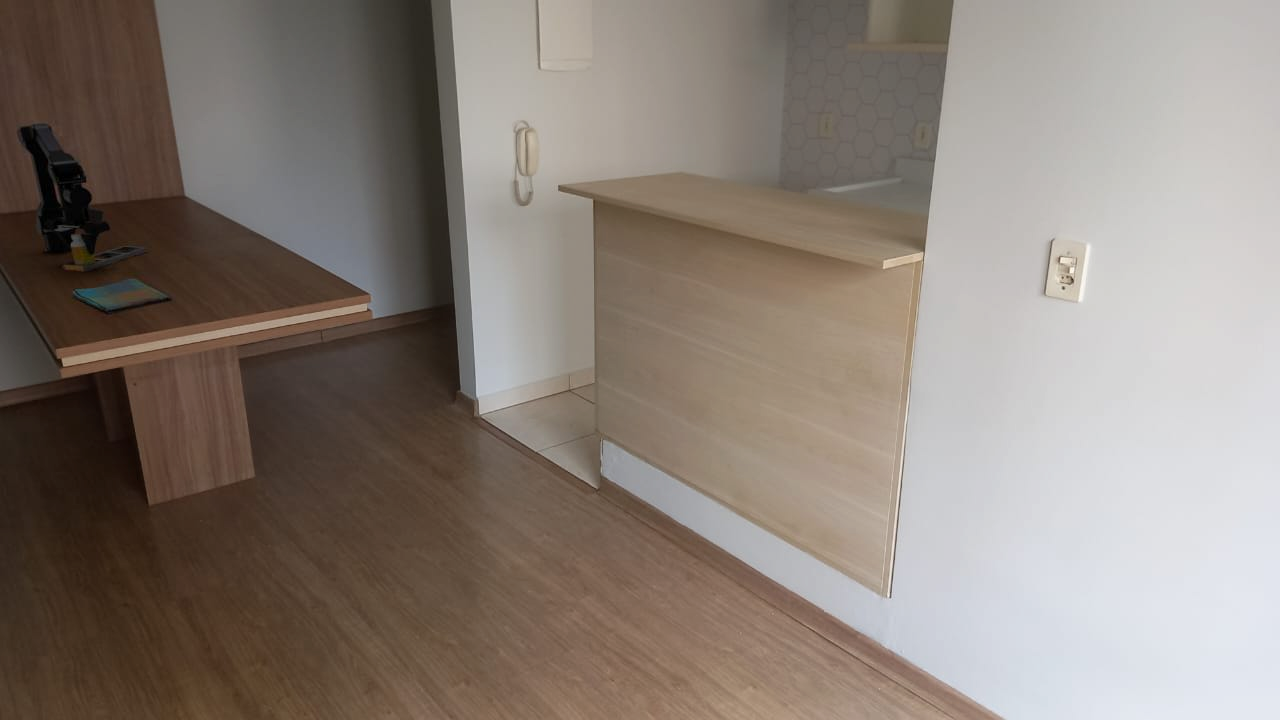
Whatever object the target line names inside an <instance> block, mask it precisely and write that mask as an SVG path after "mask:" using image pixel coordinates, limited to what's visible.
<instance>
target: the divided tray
mask: <svg viewBox="0 0 1280 720" xmlns="http://www.w3.org/2000/svg"><path fill="white" fill-rule="evenodd" d="M124 250H131V251H132V252H130V251H127V252H122V253H118V252H121V251H124ZM144 252H147V253H148V252H149V251H148V248H147V247H143V246H131V245H124V246H119V247H116V248H114V249H109V250H105V251H103V252H100V253H96V254H94V257H95V261H96V263H93V264H90V265H86V266H82V265H75V261H74V260H72V261H69V262H66V263H64V264H62V265H61V266H62V269H63V270H67V271H74V270H75V271H77V272H85V273H86V272H89V271H90V272H91V271H93V270H96V269H99V268H98V267H100V268H102V267H101V266H103V267H105V266H104V265H106V264H108V263H112V262H115V261H118V260H121V259H124V258H127V257H130V256H134V255H137V254H140V253H144ZM144 254H145V253H144ZM106 256H112V257H108V258H107V257H106ZM137 256H138V255H137ZM103 257H105V258H103ZM134 257H135V256H134ZM101 258H102V259H101ZM118 262H119V261H118ZM115 263H116V262H115ZM112 264H113V263H112ZM106 266H107V265H106ZM95 268H96V269H95ZM92 269H93V270H92ZM75 271H74V272H75Z"/></svg>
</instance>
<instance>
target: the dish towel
mask: <svg viewBox="0 0 1280 720" xmlns="http://www.w3.org/2000/svg"><path fill="white" fill-rule="evenodd" d="M71 293H72V295H71V296H72V298H74V299H76V300H78V301H81V302H83V303H86V304H88V305H91V307H94V306H95V307H94V308H96V307H97V308H96V309H98V308H99V309H100V310H99V309H98V310H99V311H101V310H103V311H102V312H104V311H105V312H107V313H111V314H115V313H114V312H116V313H119V311H120V312H124V311H123V310H125V311H128V310H127V309H129V310H133V309H132V308H134V309H137V308H136V307H138V308H141V307H140V306H143V307H147V306H151V305H150V304H152V305H155V304H161V303H164V302H168V301H169V300H170V301H172V300H173V298H172V297H170V296H169V295H167V294H165V293H163V292H161V291H160V290H157V289H155V288H153V287H151V286H149V285H147V284H145V283H143V282H142V281H140V280H138V279H137V278H128V279H125V280H121V281H118V282H114V283H109V284H105V285H100V286H98V287H94V288H81V289H78V288H77V289H75V290H74V291H72V292H71ZM146 305H147V306H146ZM105 312H104V313H105ZM107 313H106V314H107Z"/></svg>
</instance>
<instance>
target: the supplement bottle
mask: <svg viewBox="0 0 1280 720" xmlns="http://www.w3.org/2000/svg"><path fill="white" fill-rule="evenodd" d="M82 233H83V232H78V233H75V234H72V235H71V238H72V240H73V242H72V243H71V249H72V251H71V252H72V257H73V261H75V265H82V266H86V265H90V264H93V263H96V261H95V257H94V255H95V253H94V254H92V255H90V253H89V252H88V250H87V248H86V245H85V243H84V241H83V239H82V237H81V235H80V234H82Z"/></svg>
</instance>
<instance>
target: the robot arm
mask: <svg viewBox="0 0 1280 720" xmlns="http://www.w3.org/2000/svg"><path fill="white" fill-rule="evenodd" d="M16 134H17V135H16V136H17V139H18V141H19V143H21V146H22V147H23V149H24V150H25V151H26V152H27V153H28V154H29V155H30V159H31V164H32V168H33V173H34V177H35V181H36V186H37V191H38V195H39V198H40V199H39V200H40V202H39V204H38V206H37V208H36V212H37V216H36V217H35V219H36V220H35V228H36V231H37V234H39V235H41V236H43V239H44V243H45V247H46V249H44V250H42V253H48V254H61V253H65V252H69V251H71V252H72V249H71V243H72V242H73V240H72V238H71V235H72V234H76V231H77V229H78V230H83V231H84V232H81V233H82V234H80V235H81V237H82V239H83V241H84V243H85V245H86V248H87V250H88V252H89V253H90V255H92V254H94V255H95V250H96V243H97V240H98V236H99V235H100V234H102V233H104V232H107V231H111V228H110V227H111V226H110V223H109V222H108V221H106V220H104V211H103V210H98V209H97V210H96V209H92V208H91V209H90V208H89V207H90V206H89V205H90V204H91V203H92V201H93V200H92V199H93V196H92V193H91V192H90V191H89V189H87V188H86V187H83V184H86V183H87V177H88V176H87V174H86V173H85V171H84V168H83V167H82V165H81V164H80V163H79V161H77V160H76V159H75V157H74V156H73V155H72V154H70V153H68V152H66V151H64V149H63V147H62V146H61V144H60V143H59V141H58V140H57V138H56V136H55V135H54V132H53V129H52V126H51V125H50V124H48V123H33V124H31V125H23V126H20V127H19V129H17V131H16ZM55 186H56V187H55ZM56 188H57V191H56ZM56 192H57V193H58V197H59V200H58V197H57V193H56ZM59 201H60V202H59Z"/></svg>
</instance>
